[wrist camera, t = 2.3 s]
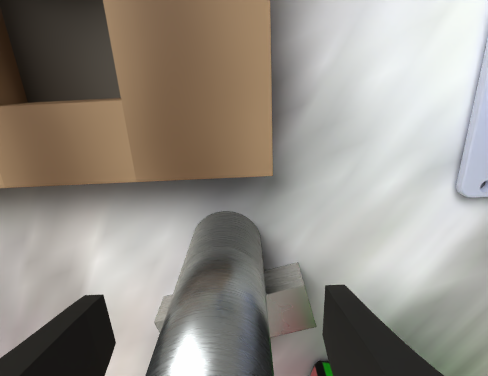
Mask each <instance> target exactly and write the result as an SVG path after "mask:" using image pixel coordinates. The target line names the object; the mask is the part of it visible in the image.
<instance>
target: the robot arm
mask: <svg viewBox="0 0 488 376" xmlns="http://www.w3.org/2000/svg"><path fill="white" fill-rule="evenodd" d="M484 181H486V184H485V185H484V187H482V188H481V189H480V186H481V184H482V183H483V182H484ZM456 189H457V191H458V193H460V194H461V195H463V196H465V197H469V198H478V197H488V39H487V44H486V48H485V53H484V58H483V62H482V67H481V72H480V76H479V81H478V86H477V91H476V95H475V100H474V105H473V109H472V114H471V119H470V123H469V128H468V133H467V137H466V142H465V147H464V152H463V156H462V161H461V166H460V170H459V175H458V180H457V184H456ZM323 338H324V343H325V347H326V351H327V356H328V360H329V364H330V368H331V371H332V374H333V376H443V375H442V374H441V373H440V372H438V371H437V370H436V369H435V368H433V367H432V366H431V365H430V364H429V363H428V362H426V361H425V360H424V359H423V358H422V357H420V356H419V355H418V354H417V353H416V352H415V351H413V350H412V349H411V348H410V347H409V346H408V345H407V344H405V343H404V342H403V341H402V340H401V339H400V338H399V337H398V336H397V335H396V334H395V333H393V332H392V331H391V330H390V329H389V328H388V327H387V326H386V325H385V324H384V323H383V322H382V321H381V320H380V319H379V318H378V317H377V316H376V315H375V314H373V313H372V312H371V311H370V310H369V309H368V308H367V307H366V306H365V305H364V304H363V303H362V302H361V301H360V300H359V299H358V298H357V297H356V296H355V295H354V294H353V293H352V292H351V291H350V290H349V289H348V288H347V287H346V286H345V285H326V286H325V302H324V319H323ZM115 344H116V342H115V338H114V334H113V330H112V326H111V322H110V319H109V315H108V311H107V307H106V303H105V299H104V295H85V296H83V297H82V298H80V299H79V300H77V301H76V302H75V303H73V304H72V305H71V306H69V307H68V308H67V309H65V310H64V311H63V312H61V313H60V314H59V315H57V316H56V317H55V318H53V319H52V320H51V321H50V322H48V323H47V324H46V325H44V326H43V327H42V328H40V329H39V330H38V331H36V332H35V333H34V334H32V335H31V336H30V337H28V338H27V339H26V340H25V341H23V342H22V343H21V344H19V345H18V346H17V347H15V348H14V349H12V350H11V351H10V352H8V353H7V354H6V355H4V356H3V357H1V358H0V376H105V373H106V370H107V367H108V365H109V362H110V359H111V356H112V353H113V350H114V347H115Z"/></svg>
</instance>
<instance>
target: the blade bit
mask: <svg viewBox="0 0 488 376" xmlns="http://www.w3.org/2000/svg"><path fill="white" fill-rule="evenodd" d="M264 280H265V290H266V300H267V311H268V321H269V331H270V337H274V336H279V335H283V334H287V333H292V332H296V331H301V330H305V329H309V328H314V327H316V324H315V320H314V317H313V313H312V310H311V306H310V303H309V299H308V296H307V292H306V289H305V285H304V282H303V279H302V275H301V272H300V268H299V265H298V262H297V263H293V264H289V265H285V266H281V267H278V268H274V269H270V270H266V271H264ZM172 296H173V294H172V295H168V296H164V298H163V300H162V303H161V306H160V308H159V311H158V314H157V316H156V319H155V322H154V323H155V325H156V327H157V329H158V330H159V332H161V329H162V326H163V323H164V320H165V317H166V314H167V311H168V308H169V305H170V302H171V299H172Z"/></svg>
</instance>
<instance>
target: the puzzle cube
mask: <svg viewBox="0 0 488 376" xmlns="http://www.w3.org/2000/svg"><path fill="white" fill-rule="evenodd" d="M310 376H333V374H332V371H331V368H330V364H329V362H323V361H318V362H317V363H316V364H315V366H314V368H313V370H312V373H311V375H310Z"/></svg>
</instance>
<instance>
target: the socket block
mask: <svg viewBox="0 0 488 376" xmlns="http://www.w3.org/2000/svg"><path fill="white" fill-rule="evenodd" d="M258 176H273V156H272V90H271V24H270V0H0V188H14V187H36V186H58V185H80V184H102V183H125V182H147V181H169V180H191V179H213V178H236V177H258Z"/></svg>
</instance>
